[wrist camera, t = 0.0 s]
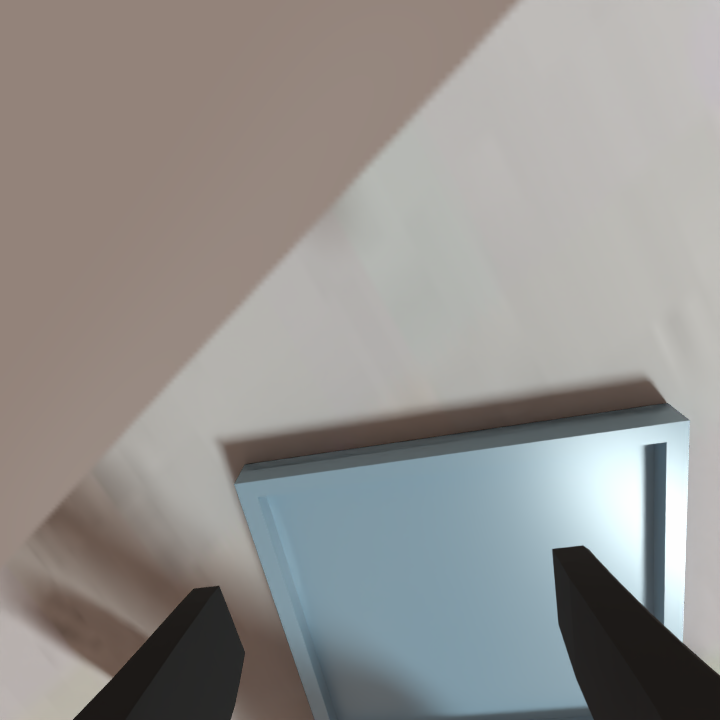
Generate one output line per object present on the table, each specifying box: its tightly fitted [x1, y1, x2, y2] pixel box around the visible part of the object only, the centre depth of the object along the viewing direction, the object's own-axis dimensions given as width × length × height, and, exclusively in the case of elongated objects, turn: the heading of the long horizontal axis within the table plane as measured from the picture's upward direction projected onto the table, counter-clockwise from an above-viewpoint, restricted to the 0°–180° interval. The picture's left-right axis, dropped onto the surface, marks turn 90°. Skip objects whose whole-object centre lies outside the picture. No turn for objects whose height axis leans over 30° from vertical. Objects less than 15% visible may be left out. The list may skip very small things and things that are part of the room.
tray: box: [234, 403, 690, 720], centre depth 22 cm, size 18×18×2 cm
